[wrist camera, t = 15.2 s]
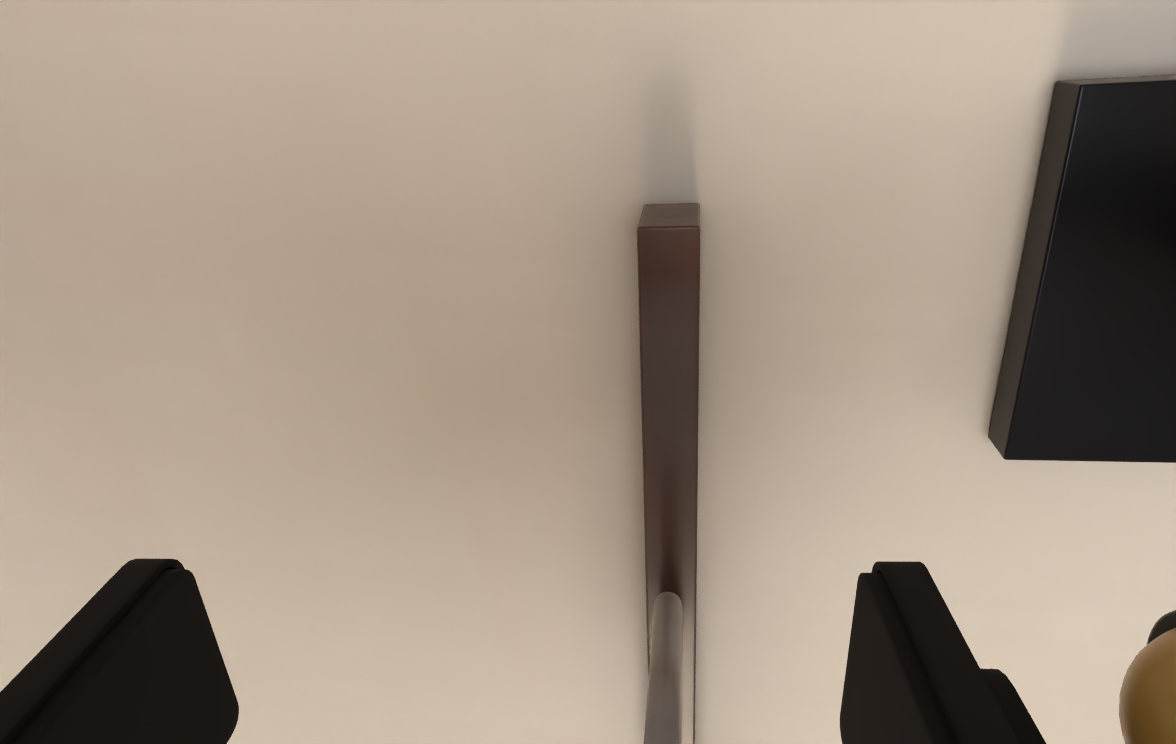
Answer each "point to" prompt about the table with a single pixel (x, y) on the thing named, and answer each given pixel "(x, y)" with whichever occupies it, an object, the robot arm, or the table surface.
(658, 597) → the hanger
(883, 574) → the robot arm
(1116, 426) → the coat stand
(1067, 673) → the table surface
